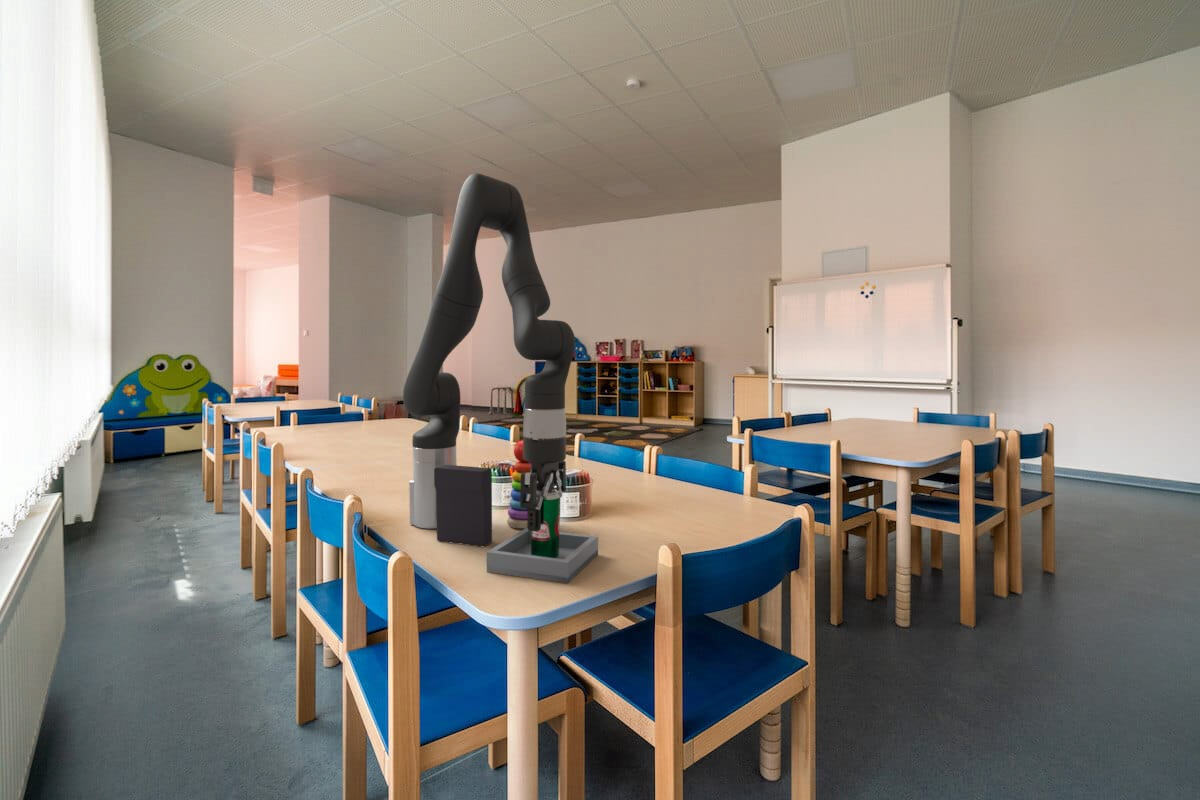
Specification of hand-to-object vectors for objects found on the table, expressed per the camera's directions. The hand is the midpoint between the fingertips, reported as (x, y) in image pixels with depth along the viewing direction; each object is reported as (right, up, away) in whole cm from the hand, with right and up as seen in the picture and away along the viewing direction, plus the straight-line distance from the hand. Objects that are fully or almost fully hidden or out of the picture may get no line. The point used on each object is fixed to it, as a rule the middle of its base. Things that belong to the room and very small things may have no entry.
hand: (544, 523), depth 105 cm
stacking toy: (-6, -6, +24) cm, 26 cm away
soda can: (0, -6, +1) cm, 6 cm away
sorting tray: (0, -7, +1) cm, 7 cm away
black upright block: (-17, -6, +12) cm, 22 cm away
